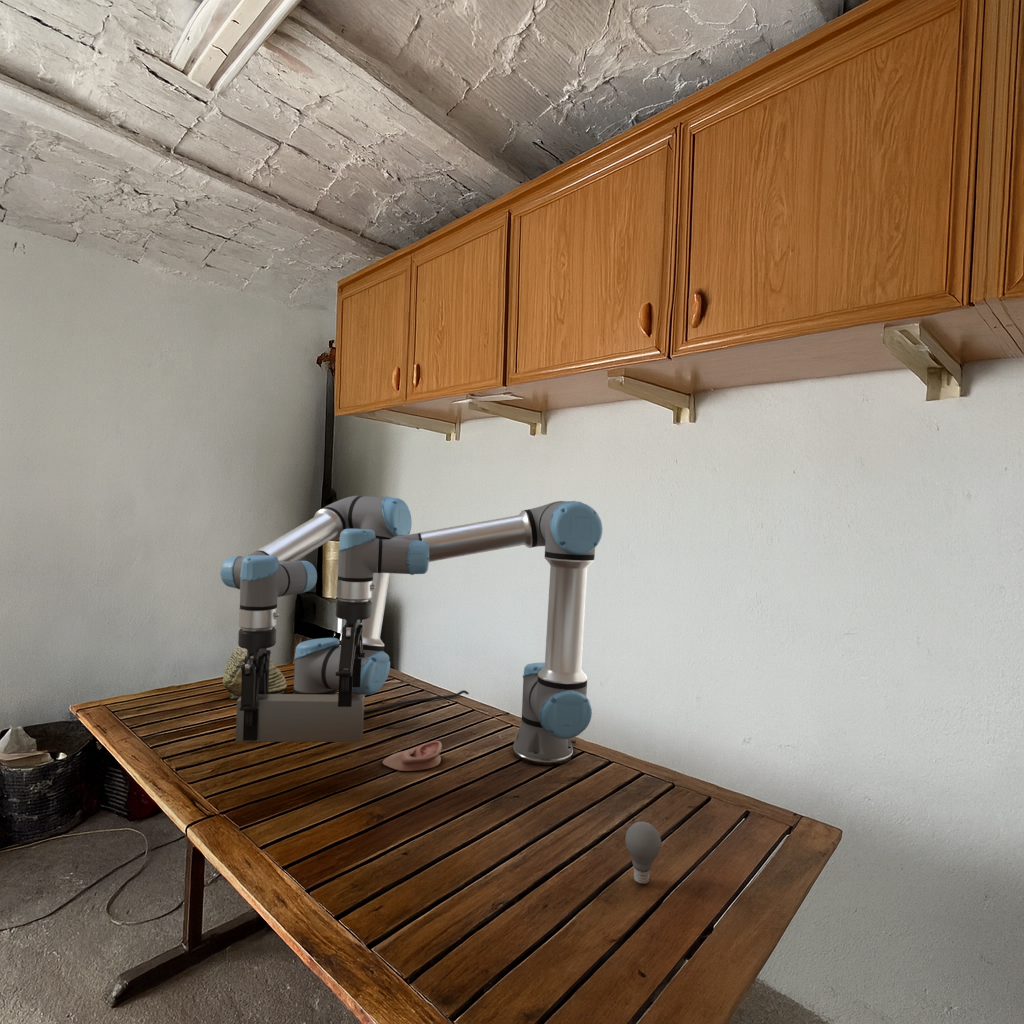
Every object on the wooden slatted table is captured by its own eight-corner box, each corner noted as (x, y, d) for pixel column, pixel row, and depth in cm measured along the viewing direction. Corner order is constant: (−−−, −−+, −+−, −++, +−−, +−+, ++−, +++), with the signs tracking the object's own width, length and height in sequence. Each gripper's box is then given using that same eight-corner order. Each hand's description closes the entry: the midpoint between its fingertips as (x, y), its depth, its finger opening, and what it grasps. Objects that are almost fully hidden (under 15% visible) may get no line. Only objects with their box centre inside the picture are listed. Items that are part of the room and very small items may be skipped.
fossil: (218, 695, 195) (220, 647, 195) (278, 685, 208) (279, 640, 207) (228, 703, 189) (230, 653, 188) (289, 692, 201) (290, 645, 201)
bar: (235, 742, 134) (236, 700, 134) (242, 733, 138) (243, 693, 138) (360, 742, 137) (362, 701, 137) (363, 734, 141) (364, 694, 141)
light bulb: (619, 871, 111) (622, 814, 111) (652, 871, 112) (655, 814, 111) (628, 892, 105) (631, 832, 105) (663, 892, 106) (666, 832, 105)
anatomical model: (377, 751, 149) (396, 733, 160) (377, 767, 149) (395, 749, 160) (431, 758, 146) (446, 740, 157) (430, 775, 146) (445, 756, 157)
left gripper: (264, 637, 128) (260, 751, 128) (285, 620, 145) (282, 721, 146) (225, 636, 127) (221, 751, 127) (251, 619, 144) (248, 720, 145)
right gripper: (364, 610, 126) (359, 715, 127) (377, 591, 151) (373, 680, 151) (326, 608, 125) (321, 715, 126) (345, 590, 150) (341, 679, 151)
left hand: (253, 735), depth 136 cm, fingers closed on bar, 5 cm apart
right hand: (349, 696), depth 139 cm, fingers open, 13 cm apart
